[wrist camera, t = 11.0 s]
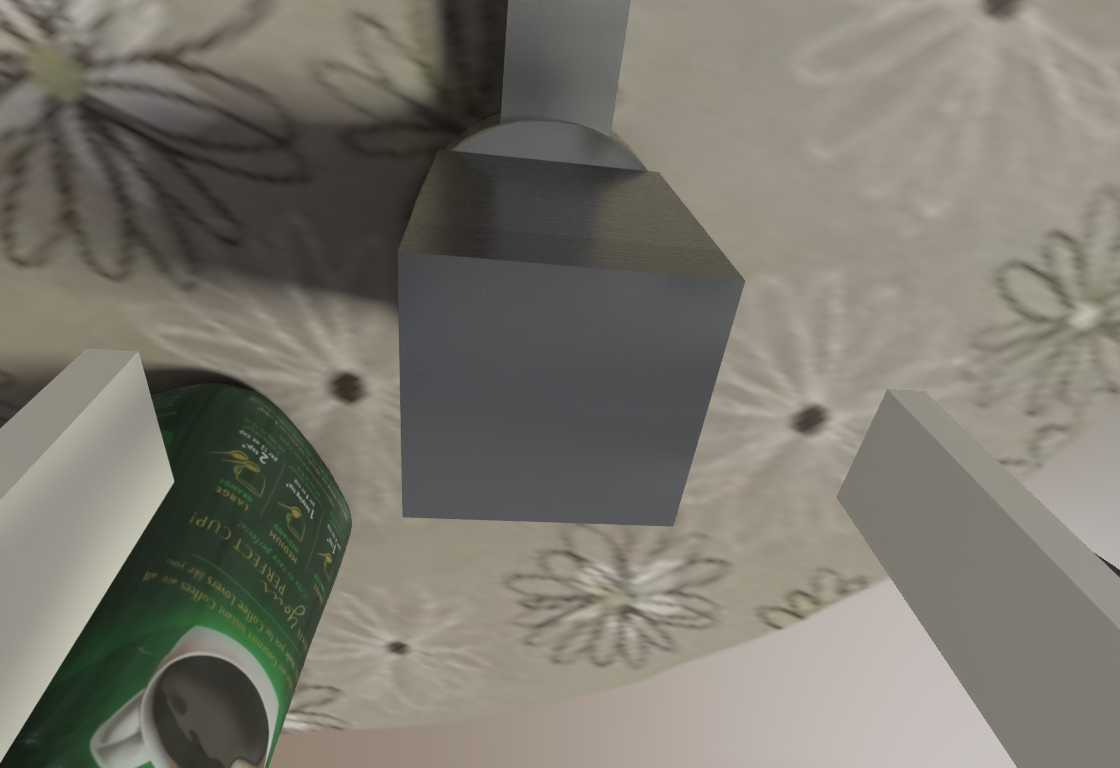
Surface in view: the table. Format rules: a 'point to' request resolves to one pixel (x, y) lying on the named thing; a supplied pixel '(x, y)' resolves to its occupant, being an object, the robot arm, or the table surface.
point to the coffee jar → (202, 601)
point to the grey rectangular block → (555, 342)
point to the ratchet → (557, 86)
